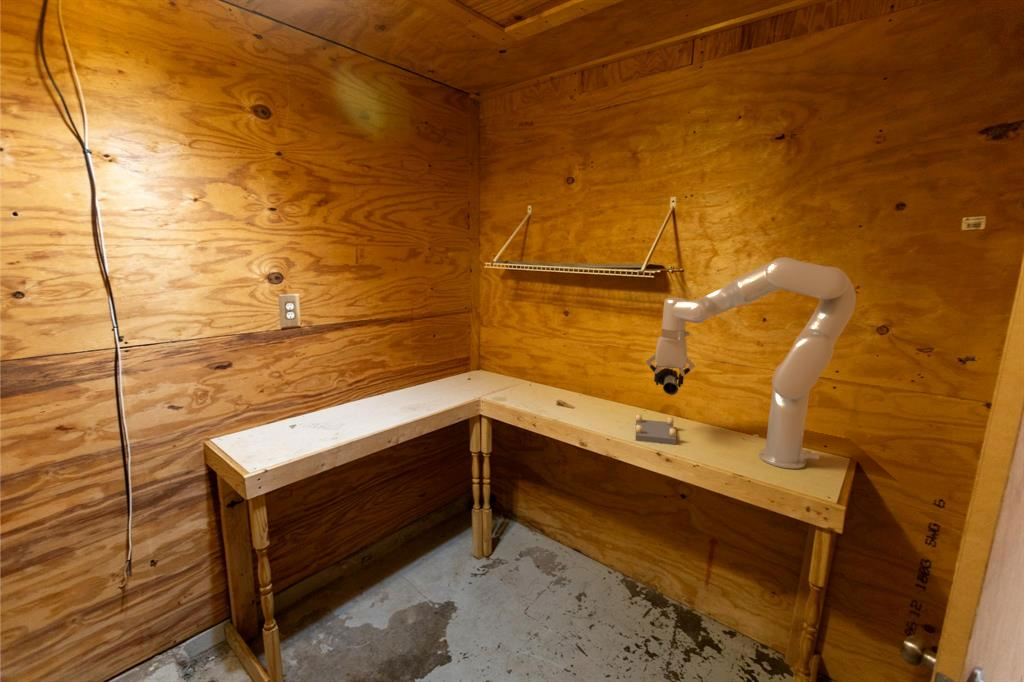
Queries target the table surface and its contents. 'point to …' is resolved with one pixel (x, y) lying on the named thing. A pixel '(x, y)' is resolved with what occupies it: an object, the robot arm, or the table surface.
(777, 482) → the table surface
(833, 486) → the table surface
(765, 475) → the table surface
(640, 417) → the pipe stand
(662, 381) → the dark elongated piece
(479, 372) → the table surface
